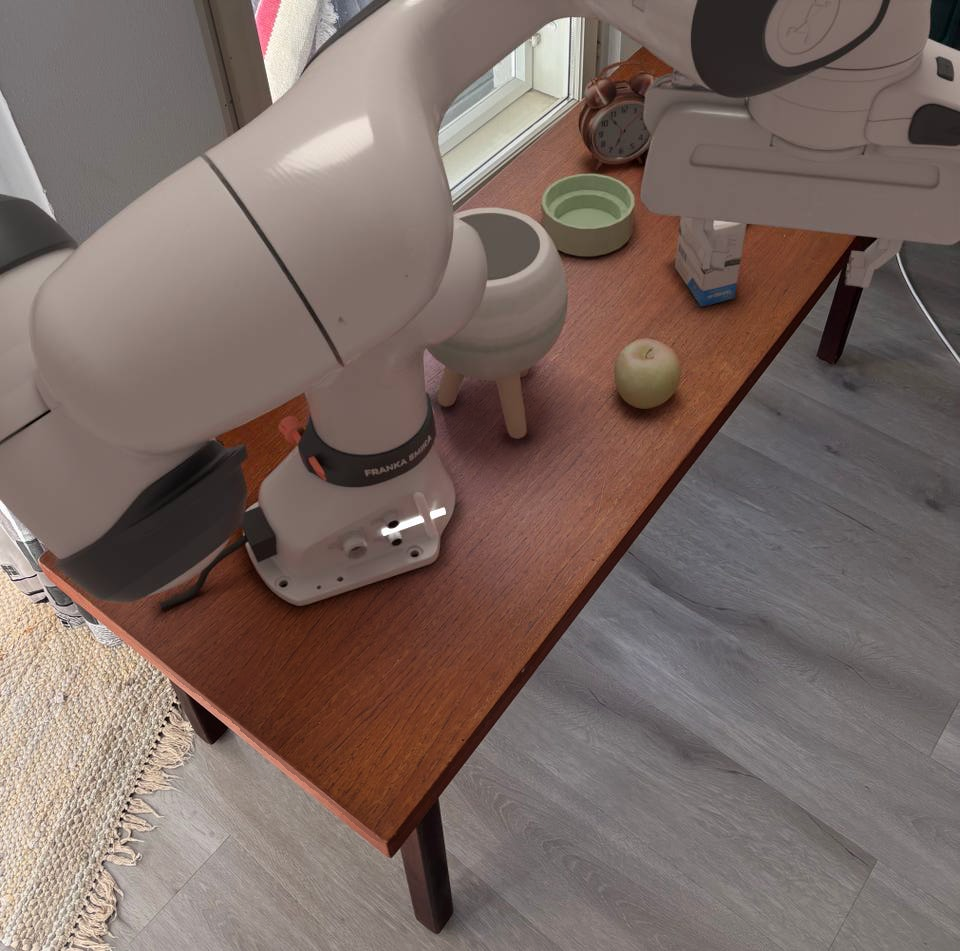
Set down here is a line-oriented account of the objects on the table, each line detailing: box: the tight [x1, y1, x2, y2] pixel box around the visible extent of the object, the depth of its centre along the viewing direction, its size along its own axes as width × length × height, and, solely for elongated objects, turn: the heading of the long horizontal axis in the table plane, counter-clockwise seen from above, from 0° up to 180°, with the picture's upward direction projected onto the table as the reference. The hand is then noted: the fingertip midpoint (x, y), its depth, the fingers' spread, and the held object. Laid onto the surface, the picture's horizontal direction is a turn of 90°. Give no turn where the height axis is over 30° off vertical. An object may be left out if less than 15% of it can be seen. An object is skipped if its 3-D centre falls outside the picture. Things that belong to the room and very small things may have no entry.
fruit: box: [613, 338, 682, 410], centre depth 109 cm, size 8×7×8 cm
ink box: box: [674, 217, 747, 308], centre depth 119 cm, size 9×5×12 cm, turn 14°
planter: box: [425, 206, 569, 440], centre depth 104 cm, size 16×16×22 cm
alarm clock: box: [578, 60, 659, 171], centre depth 135 cm, size 11×5×15 cm, turn 104°
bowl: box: [541, 173, 635, 257], centre depth 130 cm, size 12×12×5 cm
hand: (783, 273), depth 66 cm, fingers open, 8 cm apart
